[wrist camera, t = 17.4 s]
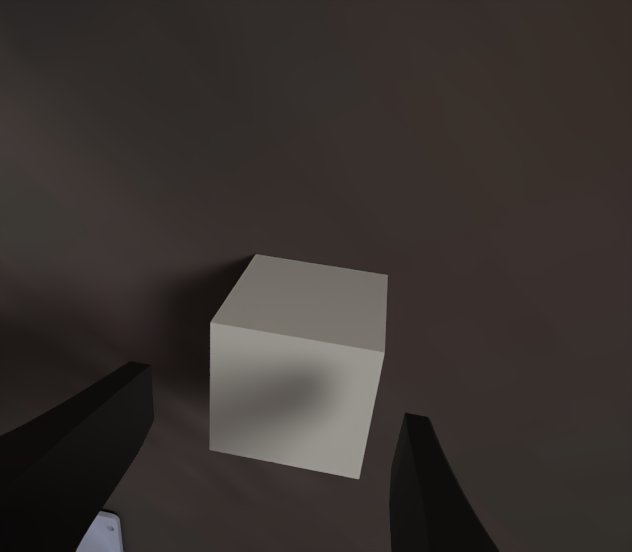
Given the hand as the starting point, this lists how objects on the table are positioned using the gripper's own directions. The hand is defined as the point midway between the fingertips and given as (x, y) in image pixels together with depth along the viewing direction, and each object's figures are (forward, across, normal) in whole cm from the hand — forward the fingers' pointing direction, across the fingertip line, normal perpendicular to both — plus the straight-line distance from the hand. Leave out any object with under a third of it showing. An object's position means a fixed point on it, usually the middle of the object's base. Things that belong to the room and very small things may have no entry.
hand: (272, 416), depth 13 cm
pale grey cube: (+9, 0, +3) cm, 10 cm away
